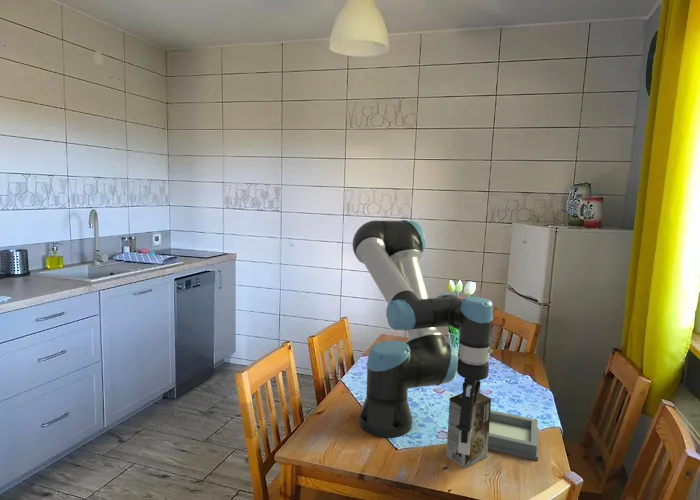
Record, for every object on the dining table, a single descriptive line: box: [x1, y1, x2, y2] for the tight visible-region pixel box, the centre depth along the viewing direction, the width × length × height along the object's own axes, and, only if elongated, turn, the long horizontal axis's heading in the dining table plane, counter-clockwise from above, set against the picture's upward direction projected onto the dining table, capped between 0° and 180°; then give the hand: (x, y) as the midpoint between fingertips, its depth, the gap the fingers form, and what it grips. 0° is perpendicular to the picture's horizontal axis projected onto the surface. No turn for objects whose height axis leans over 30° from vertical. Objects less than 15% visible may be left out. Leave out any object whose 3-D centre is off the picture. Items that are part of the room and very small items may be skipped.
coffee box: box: [445, 392, 492, 469], centre depth 119 cm, size 9×6×16 cm
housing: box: [488, 409, 540, 461], centre depth 129 cm, size 16×16×4 cm
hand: (467, 439), depth 119 cm, fingers open, 13 cm apart
